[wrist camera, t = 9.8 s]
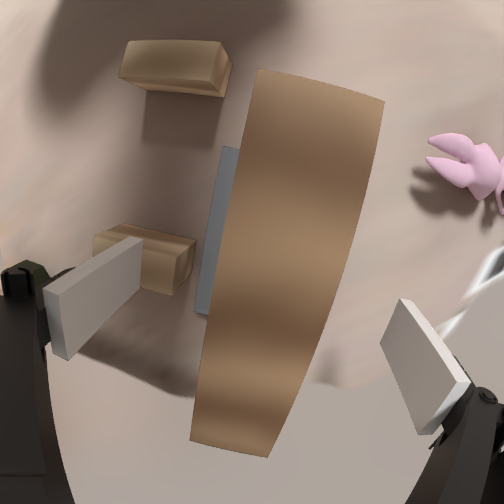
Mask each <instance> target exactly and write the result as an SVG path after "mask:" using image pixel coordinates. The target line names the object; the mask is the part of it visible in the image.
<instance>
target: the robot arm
mask: <svg viewBox="0 0 504 504" xmlns="http://www.w3.org/2000/svg"><path fill="white" fill-rule="evenodd" d="M142 248H143V239H140V238H136V237H132V236H129V237H127V238H126V239H124V240H122V241H120V242H118V243H117V244H115V245H113V246H111V247H110V248H108V249H106V250H104V251H103V252H101V253H99V254H98V255H96V256H94V257H92V258H91V259H89V260H87V261H86V262H84V263H82V264H81V265H79V266H77V267H73V268H70V269H66V270H64V271H62V272H60V273H59V274H57V276H56V275H55V276H54V277H52V278H51V280H50V279H49V280H47V281H46V282H44V283H42V284H41V285H39V286H38V287H36V288H35V285H34V276H33V270H31V269H30V268H28V267H25V266H14V267H10V268H7V269H5V270H4V271H2V273H1V274H0V277H1V284H2V290H3V295H0V504H75V502H74V499H73V496H72V493H71V490H70V487H69V484H68V480H67V476H66V473H65V470H64V466H63V462H62V458H61V453H60V449H59V445H58V440H57V435H56V430H55V425H54V419H53V413H52V407H51V399H50V391H49V382H48V372H47V359H46V351H45V346H46V345H47V343H49V342H50V341H51V346H52V351H53V354H55V355H57V356H59V357H61V358H63V359H65V360H67V361H69V360H70V359H71V358H72V357H73V356H74V355H75V354H76V352H77V351H78V350H79V349H80V348H81V347H82V346H83V345H84V344H85V343H86V342H87V341H88V340H89V339H90V338H91V337H92V336H93V335H94V334H95V333H96V332H97V331H98V330H99V329H100V328H101V327H102V326H103V325H104V324H105V323H106V322H107V321H108V320H109V319H110V318H111V317H112V316H113V315H114V314H115V313H116V312H117V311H118V310H119V309H120V308H121V307H122V306H123V305H124V304H125V303H126V302H127V301H128V300H129V299H130V298H131V297H132V296H133V295H134V294H135V293H136V292H137V291H138V290H139V289H140V275H141V260H142ZM380 344H381V347H382V349H383V351H384V353H385V356H386V358H387V360H388V362H389V365H390V367H391V369H392V372H393V374H394V376H395V378H396V381H397V383H398V386H399V388H400V390H401V393H402V395H403V398H404V400H405V403H406V405H407V408H408V410H409V413H410V415H411V418H412V420H413V423H414V426H415V428H416V431H417V434H418V435H428V434H433V433H434V432H435V431H436V430H437V428H438V427H439V426H440V425H441V424H442V426H443V428H444V431H443V432H442V433H441V435H440V436H439V437H438V438H437V439H436V440H435V441H434V443H433V444H432V445H431V446H430V447H429V449H431V448H432V447H434V449H433V451H432V453H431V456H430V457H429V460H428V462H427V464H426V466H425V468H424V470H423V472H422V474H421V476H420V478H419V480H418V481H417V483H416V485H415V487H414V489H413V491H412V492H411V494H410V496H409V497H408V499H407V501H406V503H405V504H504V451H503V452H501V447H502V446H503V445H504V404H500V403H498V399H497V397H496V396H495V395H494V394H493V393H492V392H491V391H490V390H488V389H486V388H483V387H477V388H476V386H475V385H474V383H473V382H472V380H471V379H470V377H469V376H468V374H467V373H466V371H464V368H463V367H462V366H461V365H460V363H459V361H458V360H457V358H456V357H455V356H454V355H453V354H452V353H451V352H450V351H449V349H448V348H447V347H446V345H445V344H444V343H443V341H442V340H441V338H440V337H439V336H438V334H437V333H436V332H435V330H434V329H433V328H432V326H431V325H430V324H429V322H428V321H427V320H426V319H425V317H424V316H423V315H422V313H421V312H420V311H419V310H418V308H417V307H416V306H415V305H414V303H413V302H412V301H410V300H406V299H401V298H399V301H398V303H397V306H396V308H395V310H394V313H393V315H392V317H391V320H390V322H389V324H388V326H387V329H386V331H385V333H384V335H383V337H382V339H381V341H380Z"/></svg>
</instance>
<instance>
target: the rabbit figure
mask: <svg viewBox="0 0 504 504" xmlns="http://www.w3.org/2000/svg"><path fill="white" fill-rule="evenodd" d="M427 142H428V143H429V144H431V145H433V146H435V147H437V148H438V149H440V150H442V151H443V152H446V153H448V154H450V155H452V156H454V157H456V158H459V159H461V160H462V163H460V162H457V161H454V160H451V159H447V158H435V157H426V162H427V163H428V164H429V165H430V166H431V167H432V168H433V169H434V170H435V171H436V172H438V173H439V174H440V175H441V176H442V177H444V178H445V179H446V180H448V181H449V182H451V183H452V184H454V185H455V186H457V187H460V188H464V187H468V189H469V190H470V191H471V193H472V194H473V195H474V197H475V198H476V199H477V200H483V199H484V198H486V197H487V196H488V195H489V194H490V193H491V192H492V191H494V190H495V196H496V201H497V204H498V208H499V211H500V213H501V214H502V215H504V208H503V206H502V202H501V192H502V190H503V191H504V155H503V157H502V158H501V160H500V161H498V159H497V157H496V156H495V154H494V153H493V151H492V149H491V148H490V147H489V145H488V144H486V143H482V144H478V145H475V146H474V144H473V143H472V141H471V140H470V139H469V138H468V137H466V136H464V135H461V134H456V133H446V134H441V135H436V136H433V137H431V138H429V139H428V141H427Z"/></svg>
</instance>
